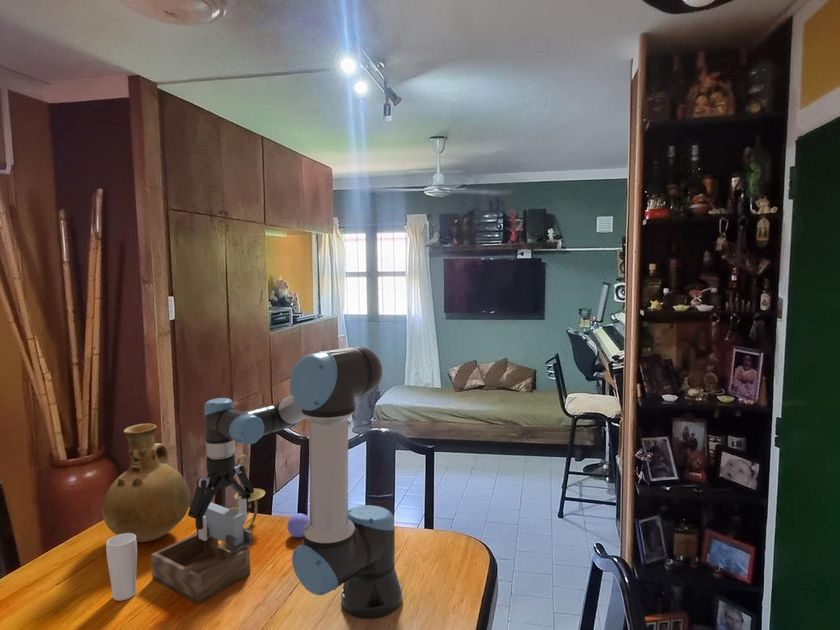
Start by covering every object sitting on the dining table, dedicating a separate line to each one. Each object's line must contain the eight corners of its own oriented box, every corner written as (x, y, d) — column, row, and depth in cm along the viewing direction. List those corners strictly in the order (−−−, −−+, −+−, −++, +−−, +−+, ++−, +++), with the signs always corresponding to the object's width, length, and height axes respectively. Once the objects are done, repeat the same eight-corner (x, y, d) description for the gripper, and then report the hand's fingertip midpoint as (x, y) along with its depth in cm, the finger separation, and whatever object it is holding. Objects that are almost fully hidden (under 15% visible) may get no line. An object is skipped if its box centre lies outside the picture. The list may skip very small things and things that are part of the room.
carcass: (256, 569, 149) (255, 533, 148) (198, 604, 134) (196, 563, 133) (211, 549, 160) (210, 514, 159) (152, 579, 145) (150, 541, 144)
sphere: (308, 541, 164) (307, 519, 164) (285, 541, 164) (284, 519, 164) (312, 530, 171) (312, 509, 171) (290, 530, 171) (290, 509, 171)
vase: (139, 518, 181) (133, 415, 177) (206, 522, 177) (202, 417, 174) (85, 555, 157) (78, 438, 154) (162, 561, 154) (156, 441, 151)
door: (246, 540, 150) (245, 513, 149) (234, 546, 147) (233, 518, 146) (215, 527, 158) (213, 501, 157) (203, 533, 154) (202, 506, 154)
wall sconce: (249, 542, 164) (246, 462, 162) (221, 538, 166) (218, 459, 164) (271, 521, 178) (269, 447, 176) (245, 518, 180) (242, 445, 178)
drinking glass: (118, 607, 133) (115, 548, 132) (103, 598, 137) (100, 541, 135) (145, 592, 139) (142, 536, 138) (130, 584, 143) (127, 530, 141)
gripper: (248, 440, 162) (250, 509, 164) (171, 465, 141) (175, 544, 143) (265, 444, 158) (267, 515, 160) (188, 471, 137) (192, 552, 139)
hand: (223, 529), depth 151 cm, fingers open, 12 cm apart
